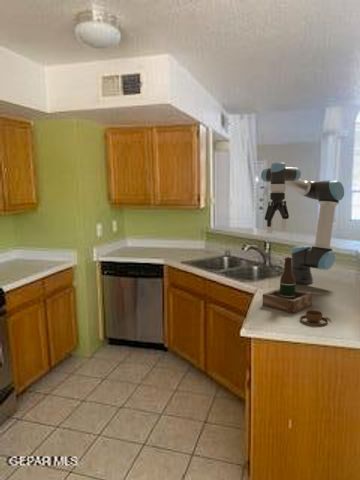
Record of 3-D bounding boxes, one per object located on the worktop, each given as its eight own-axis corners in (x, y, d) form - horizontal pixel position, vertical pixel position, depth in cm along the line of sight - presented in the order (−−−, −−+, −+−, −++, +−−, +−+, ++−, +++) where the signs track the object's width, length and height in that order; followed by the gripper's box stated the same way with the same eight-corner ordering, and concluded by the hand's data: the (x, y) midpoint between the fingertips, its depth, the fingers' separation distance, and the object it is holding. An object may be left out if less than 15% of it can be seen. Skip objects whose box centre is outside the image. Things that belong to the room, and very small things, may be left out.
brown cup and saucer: (299, 328, 165) (299, 315, 164) (283, 313, 184) (284, 301, 184) (338, 326, 166) (338, 313, 165) (318, 312, 186) (318, 300, 185)
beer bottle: (277, 301, 199) (278, 256, 196) (292, 301, 199) (294, 256, 196) (281, 305, 191) (282, 259, 188) (296, 305, 191) (298, 259, 188)
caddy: (281, 298, 208) (281, 287, 207) (312, 305, 195) (312, 293, 194) (262, 305, 195) (262, 294, 195) (294, 313, 182) (294, 301, 182)
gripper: (283, 191, 212) (283, 229, 215) (258, 192, 195) (257, 233, 198) (296, 191, 207) (294, 230, 210) (270, 192, 190) (269, 234, 193)
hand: (276, 231), depth 204 cm, fingers open, 13 cm apart
